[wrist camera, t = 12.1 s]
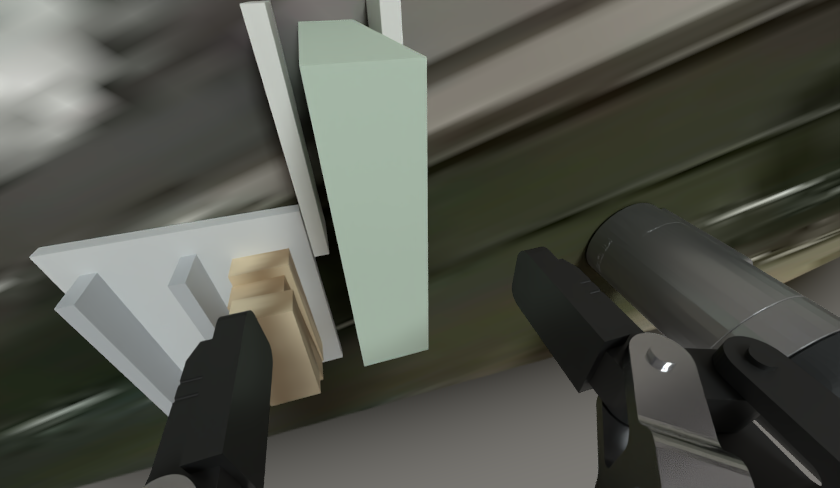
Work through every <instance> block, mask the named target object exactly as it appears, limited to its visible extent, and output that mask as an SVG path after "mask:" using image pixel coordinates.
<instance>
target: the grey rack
mask: <svg viewBox="0 0 840 488" xmlns="http://www.w3.org/2000/svg"><path fill="white" fill-rule="evenodd" d="M287 248H289V250H290V253H291V256H292V258H293V261H294V264H295V267H296V270H297V273H298V276H299V278H300V281H301V284H302V287H303V290H304V293H305V295H306V298H307V301H308V304H309V307H310V310H311V313H312V315H313V318H314V321H315V324H316V327H317V330H318V332H319V335H320V338H321V341H322V345H323V359H324V361H322V362H326V361H330V360H334V359H337V358H341V357H343V353H342V347H341V344H340V341H339V337H338V334H337V330H336V327H335V324H334V320H333V317H332V313H331V310H330V307H329V303H328V300H327V297H326V293H325V290H324V286H323V283H322V280H321V276H320V273H319V270H318V266H317V263H316V259H315V257H314V253H313V250H312V247H311V243H310V240H309V237H308V233H307V230H306V226H305V223H304V220H303V216H302V213H301V210H300V206H299V204H298V205H292V206H286V207H280V208H274V209H268V210H262V211H256V212H250V213H244V214H238V215H232V216H226V217H220V218H214V219H208V220H202V221H196V222H190V223H184V224H178V225H172V226H166V227H160V228H154V229H148V230H142V231H136V232H130V233H124V234H118V235H112V236H106V237H100V238H94V239H88V240H82V241H76V242H70V243H64V244H58V245H52V246H46V247H40V248H38V249H37V250H36V251H35V252H34V253H33V254H32V255H31V256H30V257H29V258H30V259H31V260H32V261H33V262H34V263H35V264H36V265H37V266H38V267H39V268H40V269H41V270H42V271H43V272H44V273H45V274H46V275H47V276H48V277H49V278H50V279H51V280H52V281H53V282H54V283H55V284H56V285H57V286H58V287H59V288H60V289H61V290H62V291H63V292H64V293H65V295H64V297H63V298H62V299H61V301H60V302H59V303H58V305H57V306H56V307H55V308H54V310H55V311H56V312H57V313H59V314H60V315H61V316H62V317H63V318H64V319H65V320H66V321H67V322H68V323H69V324H70V325H71V326H72V327H73V328H75V329H76V330H77V331H78V332H79V333H80V334H81V335H82V336H83V337H84V338H85V339H86V340H87V341H88V342H90V343H91V344H92V345H93V346H94V347H95V348H96V349H97V350H98V351H99V352H100V353H101V354H102V355H103V356H104V357H106V358H107V359H108V360H109V361H110V362H111V363H112V364H113V365H114V366H115V367H116V368H117V369H118V370H119V371H120V372H122V373H123V374H124V375H125V376H126V377H127V378H128V379H129V380H130V381H131V382H132V383H133V384H134V385H135V386H137V387H138V388H139V389H140V390H141V391H142V392H143V393H144V394H145V395H146V396H147V397H148V398H149V399H150V400H151V401H153V402H154V403H155V404H156V405H157V406H158V407H159V408H160V409H161V410H162V411H163V412H164V413H165V414H166V415H167V416H169V413H170V410H171V407H172V404H173V403H174V402H175V399H174V397H175V394H176V391H177V388H178V385H180V378H181V375H182V372H183V369H184V366H185V362H186V360H187V359H188V358H189V356H190V355H191V354H192V352H193V351H194V349H195V348H196V347H197V345H198V344H199V343H200V342H201V341H205V340H210V339H212V338H213V334H214V330H215V327H216V323H217V320H218V318H219V317H221V316H226V315H229V310H228V308H227V307H228V302H229V298H230V293H231V289H232V287H233V286H232V284H231V282H230V280H229V278H228V274H229V270H230V266H231V262H232V259H235V258H241V257H246V256H251V255H256V254H261V253H267V252H272V251H277V250H282V249H287Z"/></svg>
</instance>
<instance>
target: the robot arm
mask: <svg viewBox="0 0 840 488" xmlns="http://www.w3.org/2000/svg"><path fill="white" fill-rule="evenodd" d="M586 259H587V262H588V264H589V265H590V266H591V267H592V268H593V269H594V270H595V271H596V272H597V273H599V274H600V275H601V276H602V277H603V278H604V279H605V280H606V281H607V282H608V283H609V284H610V285H611V286H612V287H613V288H614V289H615V290H616V291H618V292H619V293H620V294H621V295H622V296H623V297H624V298H625V299H626V300H627V301H628V302H629V303H630V304H631V305H632V306H634V307H635V308H636V309H637V310H638V311H639V312H640V313H641V314H642V315H643V316H644V317H645V318H646V319H647V320H648V321H650V322H651V323H652V324H653V325H654V326H655V327H656V328H657V329H658V330H659V331H660V332H662V334H664V335H665V336H666V337H664V336H662V335H658V334H654V333H645V332H643V331H642V330H641V329H640V328H639V327H638V326H637V325H636V324H635V323H634V322H633V321H632V320H631V319H630V318H629V317H628V316H627V315H626V314H625V313H624V312H623V311H622V310H621V309H620V308H619V307H618V306H617V305H616V304H615V303H614V302H613V301H612V300H611V299H610V298H609V297H607V296H606V295H605V294H604V293H603V292H601V291H600V289H599V288H598V287H597V286H596V285H595V284H594V283H593V282H591V281H590V279H589V278H588V277H587V276H586V275H585V274H584V273H583V272H582V271H581V270H580V269H579V268H578V267H576V266H574V265H573V264H571V263H569V262H567V261H565V260H564V259H559V260H558V259H557V258H556V257H555V256H554V255H553V254H552V253H551V252H550V251H549V250H548V249H547V248H545V247H538V248H534V249H529V250H525V251H521V252H520V253H519V254H518V257H517V262H516V267H515V273H514V278H513V283H512V292H513V296H514V299H515V301H516V303H517V305H518V306H519V308H520V309H521V311H522V312H523V314H524V315H525V316H526V318H527V319H528V321H529V322H530V324H531V325H532V326H533V328H534V329H535V331H536V332H537V334H538V335H539V337H540V338H541V339H542V341H543V342H544V344H545V345H546V347H547V348H548V349H549V351H550V352H551V354H552V355H553V357H554V358H555V360H556V361H557V362H558V364H559V365H560V367H561V368H562V370H563V371H564V372H565V374H566V375H567V377H568V378H569V380H570V381H571V382H572V384H573V385H574V387H575V388H576V390H577V391H578V392H579V393H580V392H583V391H586V390H589V389H594V390H595V392H596V393H597V394H598V397H597V403H596V407H597V440H598V477H597V481H596V485H595V488H840V317H838V316H837V315H835V314H833V313H831V312H830V311H828V310H827V309H825V308H823V307H822V306H820V305H818V304H817V303H815V302H813V301H812V300H810V299H808V298H807V297H805V296H803V295H801V294H800V293H798V292H796V291H795V290H793V289H791V288H790V287H788V286H786V285H785V284H783V283H782V282H780V281H778V280H777V279H775V278H773V277H772V276H770V275H768V274H767V273H765V272H763V271H762V270H760V269H758V268H757V267H755V266H753V263H752V261H751V259H749V258H748V257H746V256H745V255H743V254H741V253H740V252H738V251H736V250H734V249H733V248H731V247H729V246H728V245H726V244H724V243H723V242H721V241H719V240H718V239H716V238H714V237H712V236H711V235H709V234H707V233H706V232H704V231H702V230H701V229H699V228H697V227H696V226H694V225H692V224H690V223H689V222H687V221H685V220H684V219H682V218H680V217H679V216H677V215H675V214H673V213H672V212H670V211H668V210H667V209H659V208H657V207H656V206H654V205H652V204H649V203H639V204H634V205H631V206H629V207H626V208H624V209H623V210H621V211H619V212H617V213H616V214H615V215H613V216H612V217H610V218H609V219H608V220H607V221H606V222H605V223H604V224H603V225H602V226H601V227H600V228H599V229H598V230H597V232H596V233H595V235H594V236H593V238H592V239H591V241H590V243H589V245H588V249H587V253H586ZM272 371H273V356H272V350H271V346H270V344H269V342H268V340H267V338H266V336H265V334H264V332H263V330H262V328H261V326H260V324H259V322H258V320H257V318H256V316H255V314H254V313H253V312H252V311H251V310H248V311H244V312H239V313H235V314H230V315H226V316H221V317H219V318H218V320H217V323H216V327H215V330H214V334H213V338H212V339H210V340H205V341H201V342H200V343H199V344H198V345H197V347H196V348H195V349H194V351H193V352H192V354H191V355H190V356H189V358H188V359H187V360H186V362H185V366H184V369H183V372H182V375H181V378H180V385H178V388H177V391H176V394H175V397H174V399H175V402H174V403H173V404H172V407H171V410H170V413H169V416H168V420H167V423H166V426H165V429H164V432H163V435H162V439H161V442H160V445H159V448H158V451H157V454H156V458H155V461H154V464H153V467H152V470H151V473H150V475H149V478H148V480H147V482H146V484H145V486H143V487H142V488H263V487H264V475H265V462H266V449H267V436H268V423H269V410H270V397H271V384H272ZM753 420H756V421H757V422H758V423H759V424H760V425H761V426H762V427H763V428H764V429H765V430H766V431H767V432H769V433H770V434H771V435H772V436H773V437H774V438H775V439H776V440H777V441H778V442H779V443H780V444H781V445H782V446H783V447H784V448H785V449H787V450H788V451H789V452H790V453H791V454H792V455H793V456H794V457H795V458H796V459H797V460H798V461H799V462H801V464H802V465H803V466H805V467H806V468H807V469H808V470H809V471H810V472H811V473H812V474H813V475H814V476H815V477H816V478H817V479H818V480H819V481H820V482H821V483H822V486H819V485H817V484H816V483H814V482H813V481H812V480H810V479H809V478H808V477H807V476H806V475H805V474H804V473H803V472H802V471H801V470H800V469H799V468H798V467H797V466H796V465H795V464H794V463H793V462H792V461H791V460H790V459H789V458H788V457H787V456H786V455H785V454H784V453H783V452H782V451H781V450H780V449H779V448H778V447H777V446H776V445H775V444H774V443H773V442H772V441H771V440H770V439H769V438H768V437H767V436H766V435H765V434H764V433H763V432H762V431H761V430H760V429H759V428H758V427H757V426H756V425H755V424H754V423H753V422H752V421H753Z"/></svg>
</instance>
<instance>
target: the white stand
mask: <svg viewBox="0 0 840 488" xmlns="http://www.w3.org/2000/svg"><path fill="white" fill-rule="evenodd" d="M366 6H367V16H368V25H369V28H371V29H373V30H375V31H376V32H378V33H380V34H382V35H384V36H386V37H388V38H390V39H392V40H394V41H396V42H398V43H400V44H402V45H403V37H402V18H401V0H366ZM240 7H241V10H242V14H243V17H244V21H245V24H246V27H247V31H248V34H249V37H250V41H251V44H252V48H253V51H254V54H255V58H256V61H257V64H258V68H259V71H260V75H261V78H262V81H263V85H264V88H265V91H266V95H267V98H268V102H269V105H270V108H271V112H272V115H273V118H274V122H275V125H276V129H277V132H278V135H279V139H280V142H281V145H282V149H283V152H284V156H285V159H286V162H287V166H288V169H289V172H290V176H291V179H292V183H293V186H294V189H295V193H296V196H297V199H298V203H299V206H300V210H301V213H302V216H303V220H304V223H305V226H306V230H307V233H308V237H309V240H310V243H311V247H312V250H313V253H314V257H317V256H322V255H327V254H329V247H328V239H327V231H326V223H325V219H324V215H323V211H322V207H321V203H320V199H319V195H318V191H317V187H316V183H315V179H314V175H313V171H312V166H311V162H310V158H309V154H308V150H307V146H306V142H305V138H304V134H303V130H302V126H301V122H300V118H299V114H298V110H297V106H296V102H295V98H294V94H293V90H292V86H291V82H290V78H289V74H288V70H287V66H286V62H285V58H284V54H283V50H282V46H281V42H280V38H279V34H278V30H277V26H276V22H275V18H274V14H273V10H272V6H271V2H270V1H252V2H246V3H241V4H240Z"/></svg>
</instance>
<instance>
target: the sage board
mask: <svg viewBox="0 0 840 488" xmlns="http://www.w3.org/2000/svg"><path fill="white" fill-rule="evenodd" d="M298 37H299V67H300V72H301V76H302V81H303V86H304V90H305V95H306V99H307V104H308V109H309V113H310V118H311V122H312V127H313V132H314V136H315V141H316V146H317V150H318V155H319V159H320V164H321V169H322V173H323V178H324V182H325V187H326V192H327V196H328V201H329V205H330V210H331V215H332V219H333V224H334V229H335V233H336V238H337V242H338V247H339V252H340V256H341V261H342V265H343V270H344V275H345V279H346V284H347V289H348V293H349V298H350V302H351V307H352V312H353V316H354V321H355V325H356V330H357V335H358V339H359V344H360V349H361V353H362V358H363V362H364V366H368V365H372V364H375V363H379V362H383V361H387V360H390V359H394V358H398V357H401V356H405V355H409V354H413V353H416V352H420V351H424V350H428V208H427V57H425V56H423V55H422V54H420V53H418V52H416V51H414V50H412V49H410V48H408V47H406V46H404V45H402V44H400V43H398V42H396V41H394V40H392V39H390V38H388V37H386V36H384V35H382V34H380V33H378V32H376V31H375V30H373V29H371V28H369V27H367V26H365V25H363V24H361V23H359V22H357V21H355V20H330V21H307V22H298Z"/></svg>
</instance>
